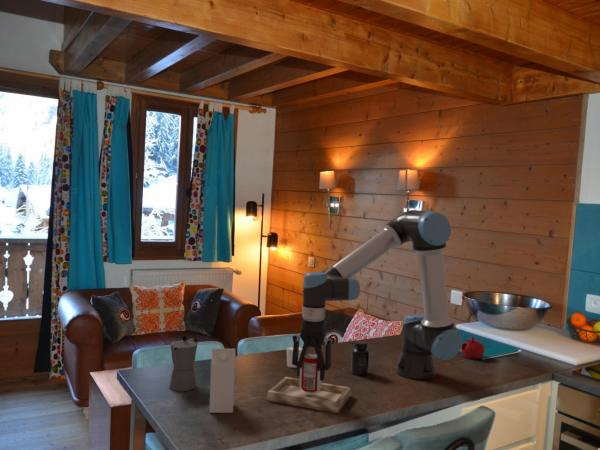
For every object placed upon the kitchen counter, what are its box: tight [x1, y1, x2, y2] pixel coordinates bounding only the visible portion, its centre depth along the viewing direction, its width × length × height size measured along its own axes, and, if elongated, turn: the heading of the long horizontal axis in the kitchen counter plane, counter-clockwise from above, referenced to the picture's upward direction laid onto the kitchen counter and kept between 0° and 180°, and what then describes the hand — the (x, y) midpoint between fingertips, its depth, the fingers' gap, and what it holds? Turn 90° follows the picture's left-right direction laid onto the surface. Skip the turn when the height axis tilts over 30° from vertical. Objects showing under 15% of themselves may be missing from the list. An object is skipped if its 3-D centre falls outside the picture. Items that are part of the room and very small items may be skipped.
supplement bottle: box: [350, 340, 370, 376], centre depth 206 cm, size 7×7×12 cm
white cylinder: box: [285, 345, 303, 369], centre depth 212 cm, size 7×7×7 cm
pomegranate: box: [460, 336, 485, 360], centre depth 234 cm, size 10×10×9 cm
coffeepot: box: [169, 334, 199, 392], centre depth 184 cm, size 15×9×18 cm, turn 162°
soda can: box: [302, 353, 320, 393], centre depth 177 cm, size 6×6×12 cm
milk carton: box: [208, 348, 236, 414], centre depth 165 cm, size 7×7×19 cm
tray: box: [266, 376, 352, 414], centre depth 178 cm, size 24×16×3 cm, turn 70°
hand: (310, 387), depth 177 cm, fingers closed on soda can, 5 cm apart
